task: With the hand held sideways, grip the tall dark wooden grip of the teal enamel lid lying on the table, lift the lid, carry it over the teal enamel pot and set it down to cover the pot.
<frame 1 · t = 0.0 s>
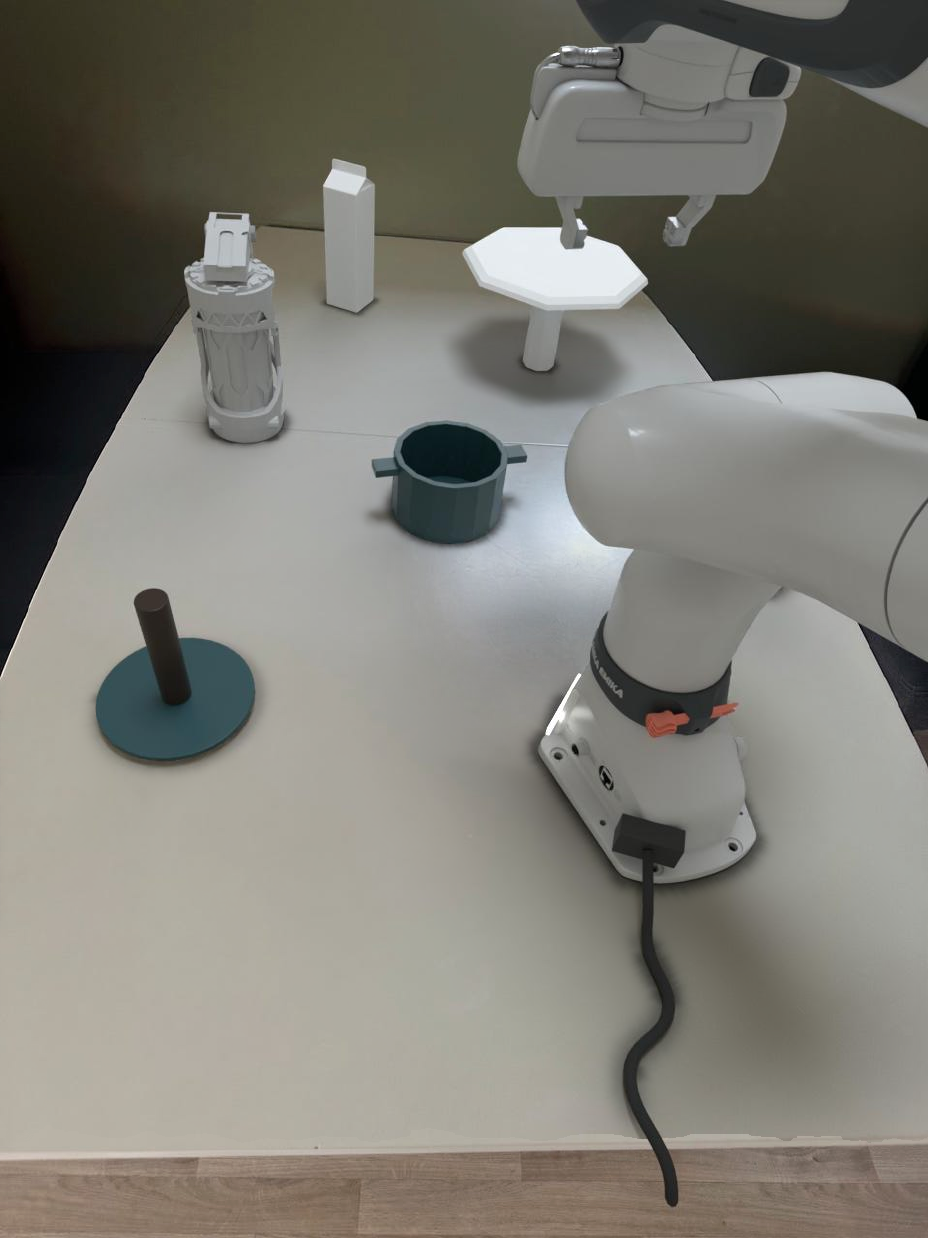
hand: (622, 244, 67), 39 cm above the table, tool pointing down, fingers open, 8 cm apart
lid: (177, 697, 77), point 1 cm above the table
pot: (445, 507, 102), on the table
milk: (350, 303, 138), on the table
lantern: (248, 419, 112), on the table
table 2: (537, 364, 130), on the table
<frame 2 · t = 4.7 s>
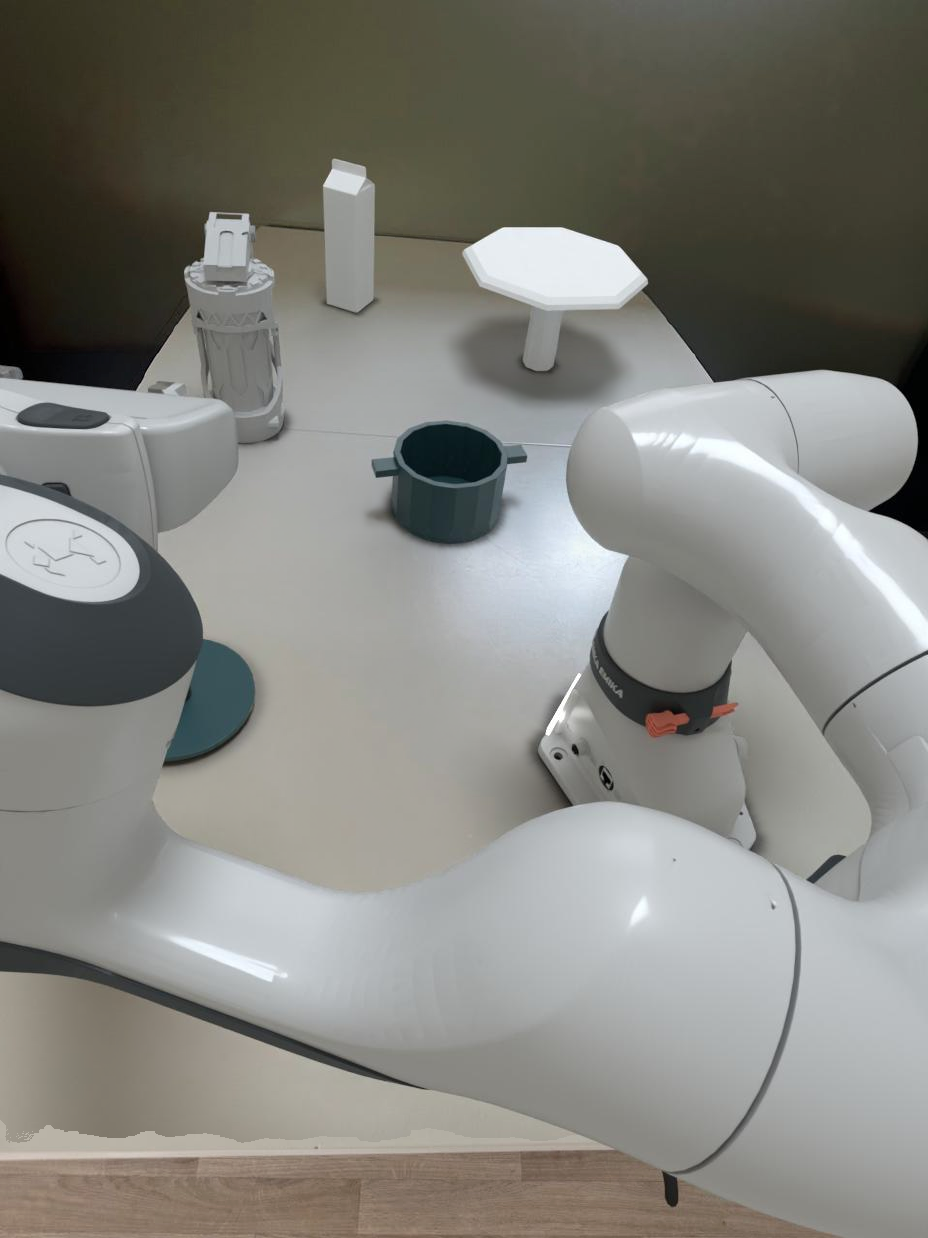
hand: (93, 387, 45), 39 cm above the table, tool horizontal, fingers open, 8 cm apart
nothing on the table moved.
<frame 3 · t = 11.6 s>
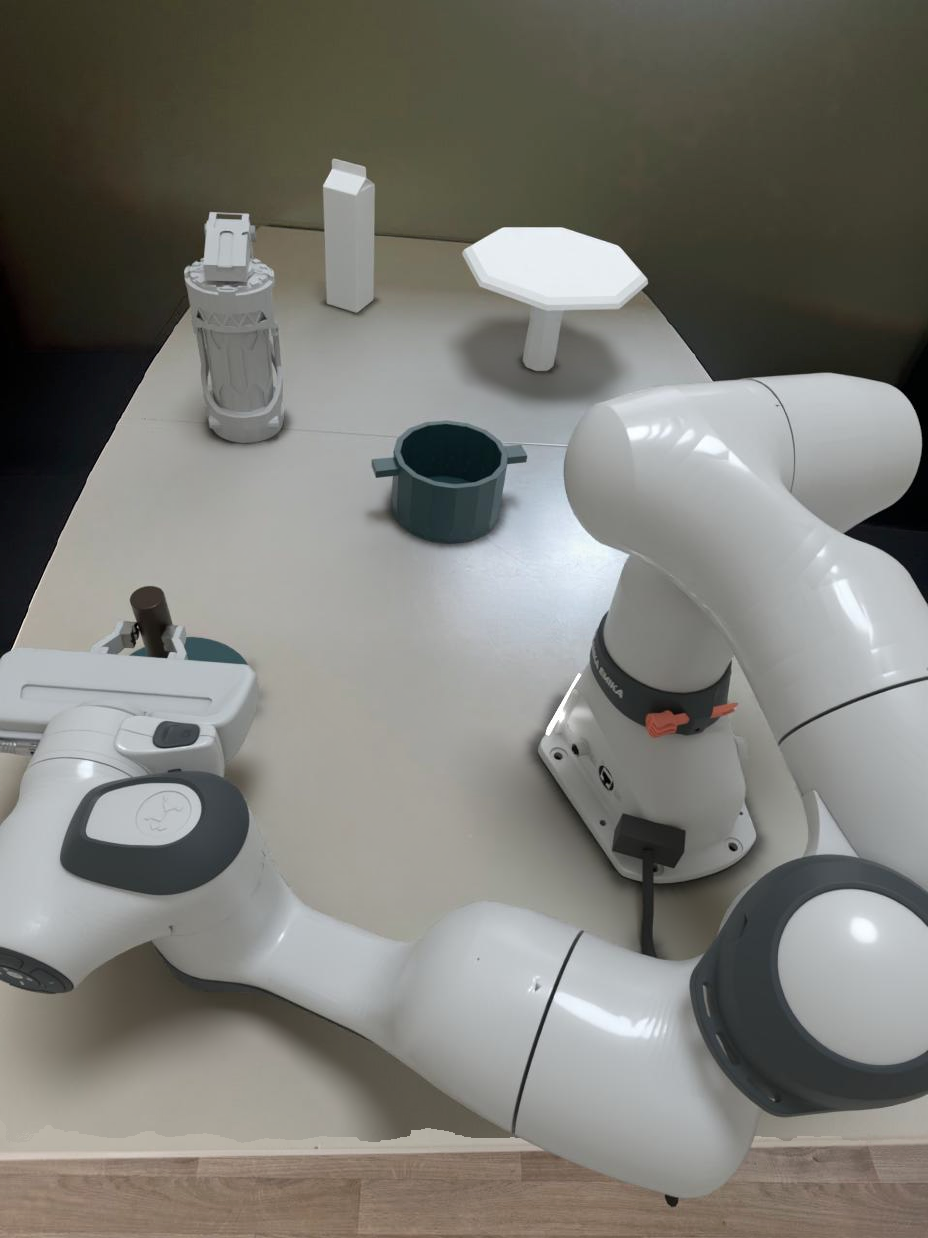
hand: (154, 628, 70), 11 cm above the table, tool horizontal, fingers closed on lid, 3 cm apart
lid: (177, 696, 77), point 1 cm above the table, touching gripper
everything else where it was.
when the fingers open (19 cm above the table, at t = 21.8 s): lid stays where it is, resting on pot.
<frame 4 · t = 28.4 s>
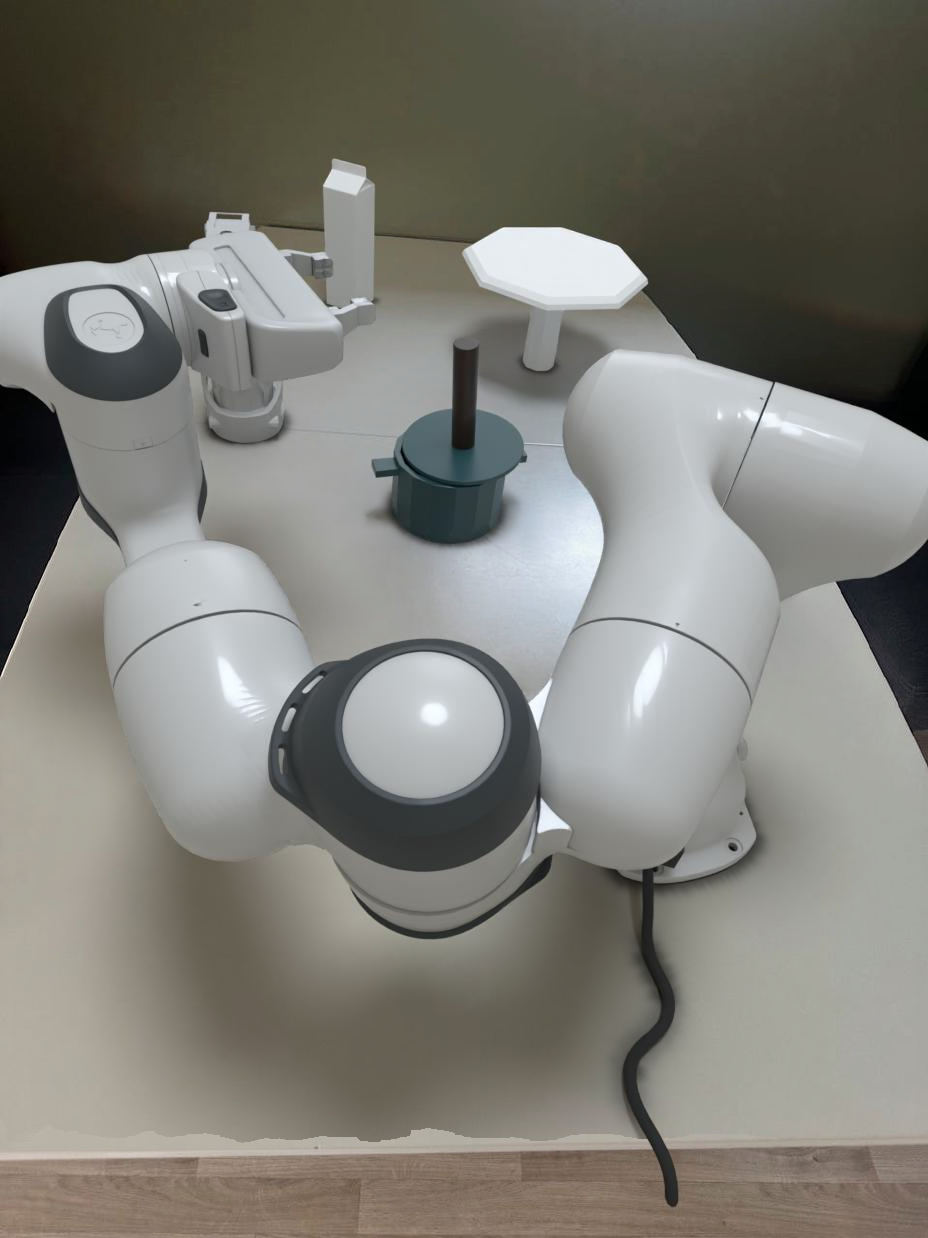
hand: (350, 285, 72), 32 cm above the table, tool horizontal, fingers open, 8 cm apart
lid: (463, 446, 96), point 9 cm above the table, touching pot
everything else where it was.
at the end: lid 1.5 cm off-centre on the pot, point 9.0 cm above the pot's base; lid tilted 4°; the gripper is holding nothing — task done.
